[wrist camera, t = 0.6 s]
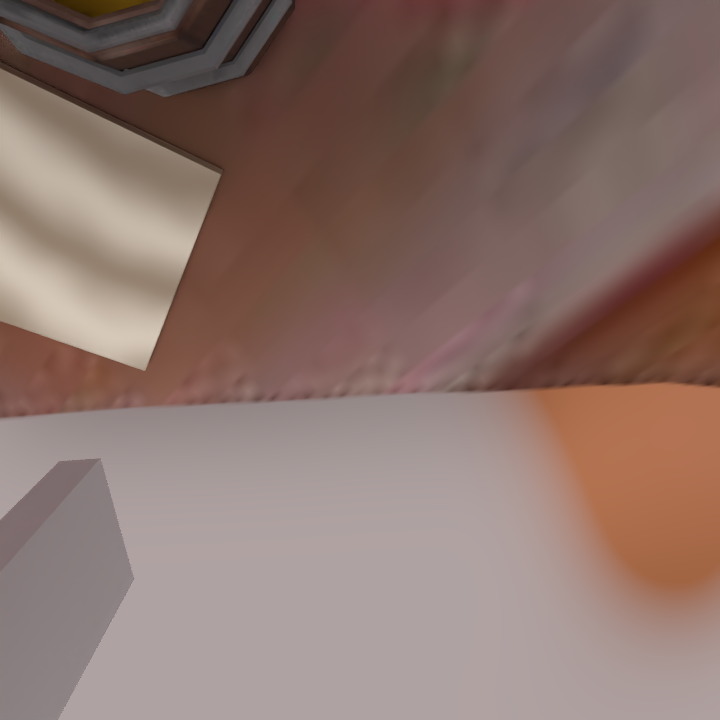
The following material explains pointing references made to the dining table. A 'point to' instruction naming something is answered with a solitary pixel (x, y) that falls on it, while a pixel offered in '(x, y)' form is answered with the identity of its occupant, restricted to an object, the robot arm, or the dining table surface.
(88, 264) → the ash board
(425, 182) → the dining table surface
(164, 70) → the mug
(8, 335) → the dining table surface
